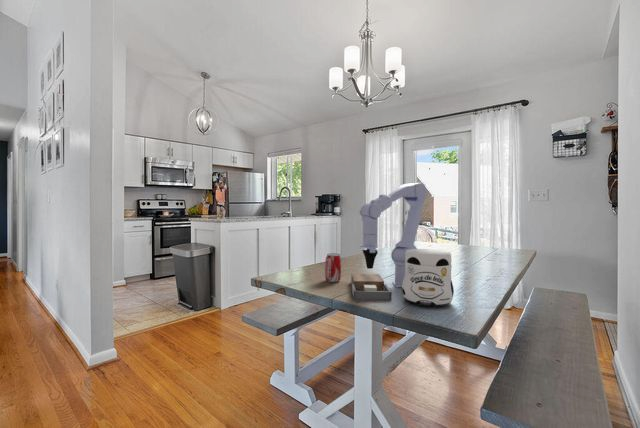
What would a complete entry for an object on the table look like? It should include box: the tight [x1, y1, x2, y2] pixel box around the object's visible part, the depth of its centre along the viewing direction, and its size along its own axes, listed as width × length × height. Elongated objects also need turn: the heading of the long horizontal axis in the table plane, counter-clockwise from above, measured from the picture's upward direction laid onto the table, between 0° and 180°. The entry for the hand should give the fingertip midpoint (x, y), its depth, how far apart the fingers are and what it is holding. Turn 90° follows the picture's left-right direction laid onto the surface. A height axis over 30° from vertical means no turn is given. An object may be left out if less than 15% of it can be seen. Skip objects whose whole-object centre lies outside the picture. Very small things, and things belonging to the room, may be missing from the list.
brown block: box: [350, 273, 385, 291], centre depth 135 cm, size 12×13×4 cm
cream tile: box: [364, 285, 377, 291], centre depth 124 cm, size 4×4×2 cm
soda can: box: [324, 252, 342, 283], centre depth 144 cm, size 7×7×12 cm
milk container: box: [401, 248, 454, 308], centre depth 115 cm, size 17×17×18 cm
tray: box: [351, 283, 393, 301], centre depth 123 cm, size 14×11×3 cm
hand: (369, 268), depth 128 cm, fingers closed
